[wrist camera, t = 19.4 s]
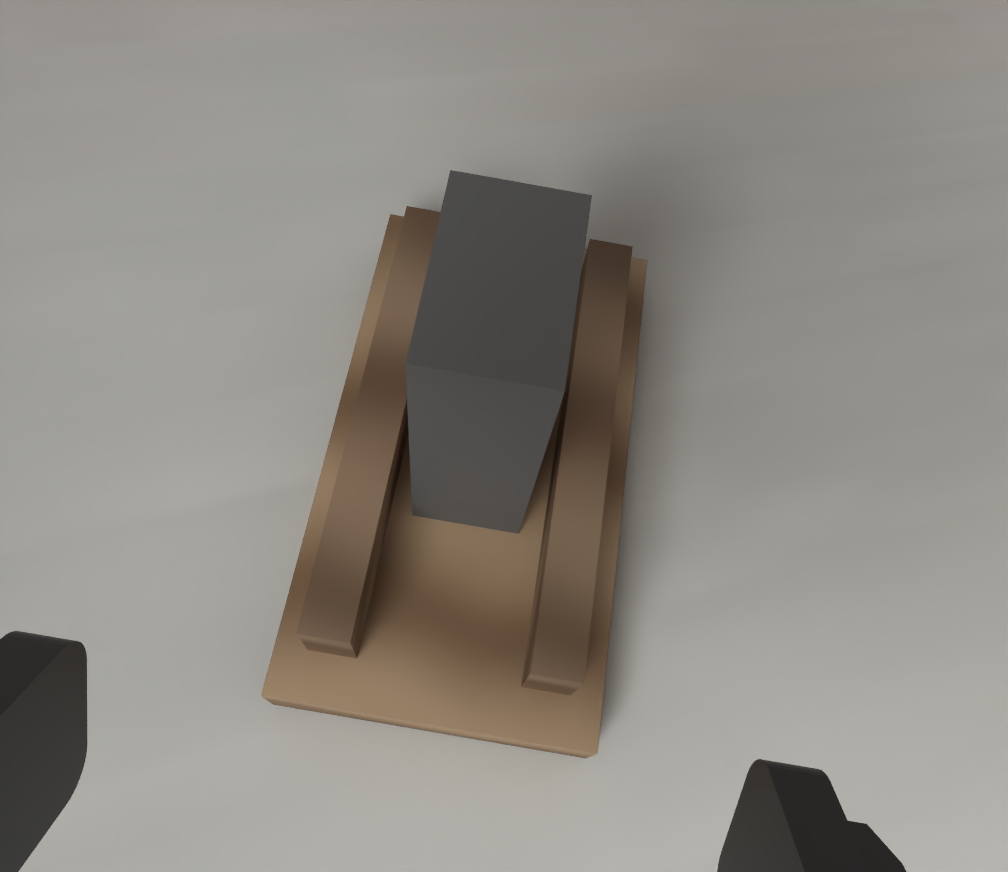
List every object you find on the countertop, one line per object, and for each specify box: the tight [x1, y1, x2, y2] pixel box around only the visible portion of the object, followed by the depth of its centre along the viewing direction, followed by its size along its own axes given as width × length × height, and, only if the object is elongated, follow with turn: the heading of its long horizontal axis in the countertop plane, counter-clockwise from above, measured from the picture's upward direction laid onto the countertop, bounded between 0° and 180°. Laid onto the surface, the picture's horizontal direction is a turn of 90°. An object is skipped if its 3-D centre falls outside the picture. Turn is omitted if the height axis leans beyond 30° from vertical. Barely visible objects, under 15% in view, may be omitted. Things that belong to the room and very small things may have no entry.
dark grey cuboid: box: [405, 170, 592, 534], centre depth 24 cm, size 6×4×10 cm, turn 171°
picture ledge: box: [261, 206, 647, 758], centre depth 28 cm, size 18×10×4 cm, turn 171°
